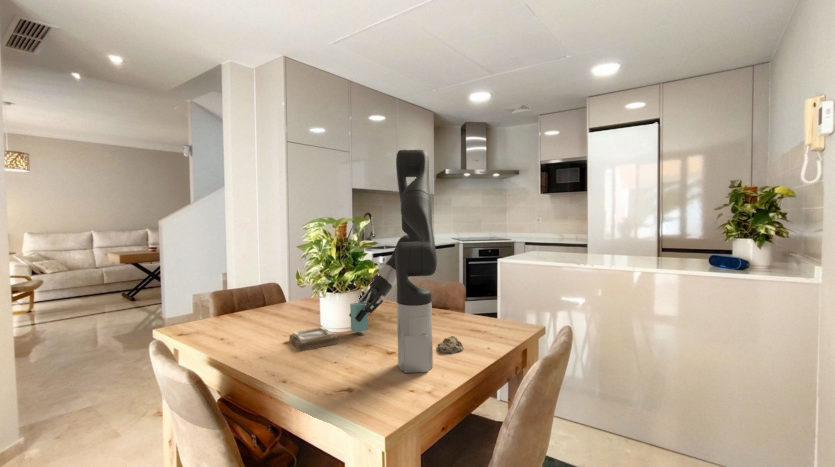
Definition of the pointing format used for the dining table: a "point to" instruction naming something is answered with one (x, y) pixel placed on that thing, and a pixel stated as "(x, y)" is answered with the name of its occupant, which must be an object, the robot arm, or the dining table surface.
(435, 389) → the dining table surface
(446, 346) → the mineral rock
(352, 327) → the teal block
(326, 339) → the block
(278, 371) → the dining table surface
